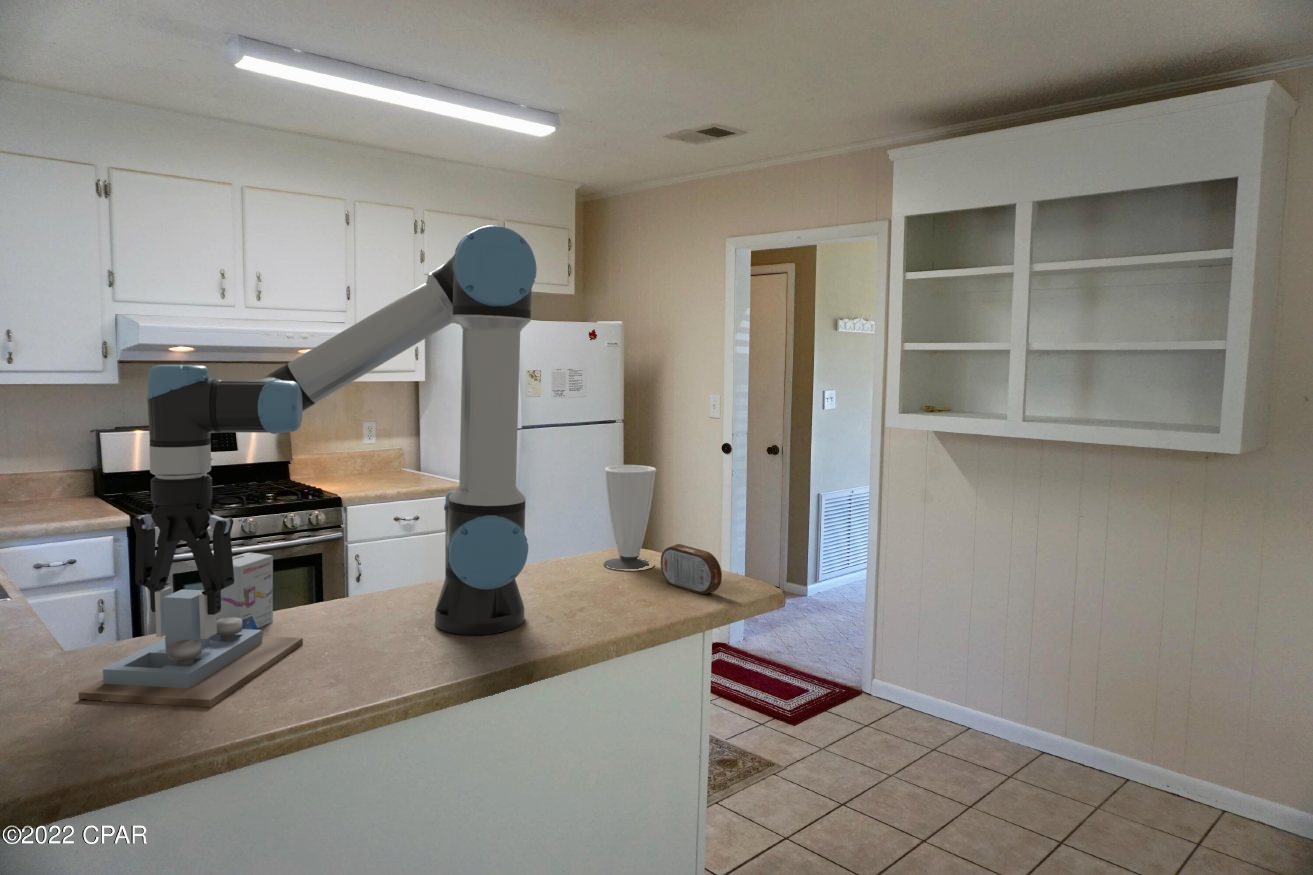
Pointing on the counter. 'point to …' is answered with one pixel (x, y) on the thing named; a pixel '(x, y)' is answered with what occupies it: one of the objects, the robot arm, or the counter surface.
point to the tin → (691, 569)
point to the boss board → (209, 687)
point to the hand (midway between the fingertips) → (186, 634)
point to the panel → (179, 673)
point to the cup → (629, 511)
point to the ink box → (249, 591)
